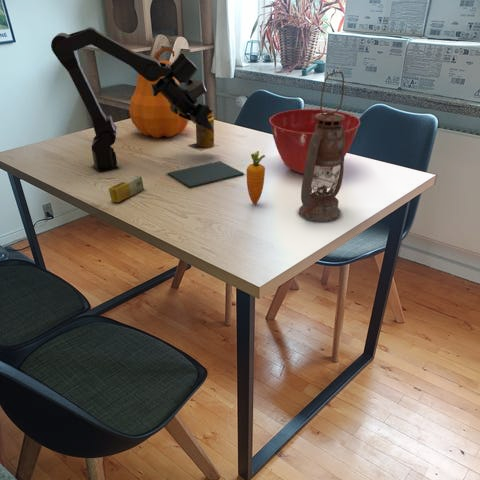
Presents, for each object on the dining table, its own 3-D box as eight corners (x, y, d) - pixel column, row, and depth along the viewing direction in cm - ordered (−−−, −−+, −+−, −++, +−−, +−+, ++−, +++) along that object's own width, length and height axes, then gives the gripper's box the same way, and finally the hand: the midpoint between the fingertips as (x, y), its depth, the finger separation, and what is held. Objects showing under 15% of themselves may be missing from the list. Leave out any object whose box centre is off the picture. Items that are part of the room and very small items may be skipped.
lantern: (284, 216, 132) (294, 73, 111) (321, 199, 142) (336, 64, 121) (317, 229, 126) (333, 80, 105) (353, 210, 135) (374, 70, 115)
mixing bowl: (259, 179, 154) (261, 128, 145) (275, 151, 177) (278, 105, 167) (350, 187, 149) (358, 135, 140) (355, 157, 171) (362, 111, 162)
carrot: (253, 199, 141) (254, 147, 132) (267, 204, 139) (269, 150, 130) (242, 205, 138) (243, 151, 129) (256, 209, 136) (257, 155, 127)
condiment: (219, 146, 168) (219, 109, 161) (200, 151, 163) (199, 113, 156) (205, 141, 172) (204, 105, 165) (186, 146, 167) (185, 109, 160)
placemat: (189, 188, 148) (189, 186, 148) (167, 174, 157) (167, 172, 157) (243, 174, 157) (243, 173, 157) (219, 162, 166) (219, 161, 166)
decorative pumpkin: (192, 124, 204) (188, 42, 186) (191, 141, 185) (186, 51, 167) (135, 125, 203) (125, 42, 185) (128, 142, 184) (116, 52, 166)
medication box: (137, 188, 148) (134, 175, 145) (144, 189, 146) (142, 176, 144) (111, 201, 139) (107, 187, 137) (118, 202, 138) (115, 188, 136)
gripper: (204, 77, 146) (235, 111, 157) (176, 67, 158) (206, 100, 170) (182, 108, 147) (214, 140, 158) (155, 96, 159) (187, 126, 171)
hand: (206, 125), depth 164 cm, fingers closed on condiment, 6 cm apart
